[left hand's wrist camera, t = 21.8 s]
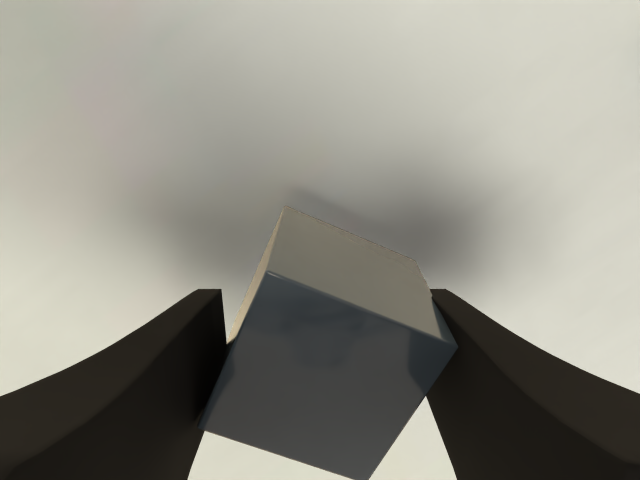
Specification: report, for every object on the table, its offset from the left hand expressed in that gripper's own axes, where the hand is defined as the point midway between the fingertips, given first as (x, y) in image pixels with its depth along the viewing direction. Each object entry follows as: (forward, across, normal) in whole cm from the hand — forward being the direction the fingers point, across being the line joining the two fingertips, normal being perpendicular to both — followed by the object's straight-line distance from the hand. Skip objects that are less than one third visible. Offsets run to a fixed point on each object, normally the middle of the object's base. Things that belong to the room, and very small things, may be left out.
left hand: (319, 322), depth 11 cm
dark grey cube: (+1, 0, 0) cm, 1 cm away
